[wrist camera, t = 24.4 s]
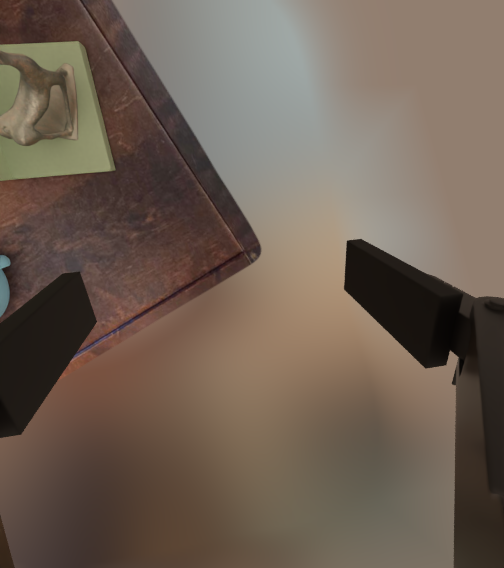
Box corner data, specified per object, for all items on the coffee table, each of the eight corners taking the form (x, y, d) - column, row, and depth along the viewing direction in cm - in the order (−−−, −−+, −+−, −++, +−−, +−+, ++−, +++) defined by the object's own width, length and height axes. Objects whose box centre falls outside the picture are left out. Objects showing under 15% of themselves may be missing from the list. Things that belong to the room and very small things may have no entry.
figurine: (46, 166, 38) (-45, 171, 24) (1, 119, 35) (-128, 96, 22) (109, 113, 37) (51, 86, 23) (67, 60, 34) (-26, -5, 21)
